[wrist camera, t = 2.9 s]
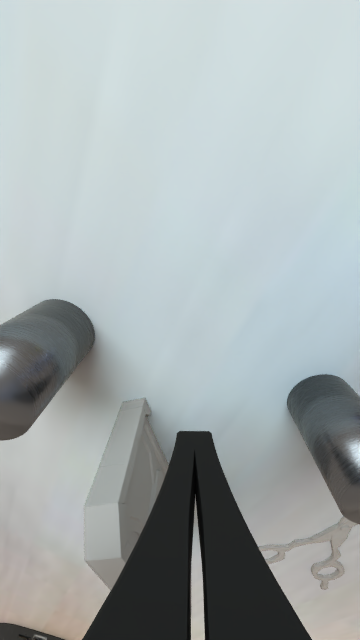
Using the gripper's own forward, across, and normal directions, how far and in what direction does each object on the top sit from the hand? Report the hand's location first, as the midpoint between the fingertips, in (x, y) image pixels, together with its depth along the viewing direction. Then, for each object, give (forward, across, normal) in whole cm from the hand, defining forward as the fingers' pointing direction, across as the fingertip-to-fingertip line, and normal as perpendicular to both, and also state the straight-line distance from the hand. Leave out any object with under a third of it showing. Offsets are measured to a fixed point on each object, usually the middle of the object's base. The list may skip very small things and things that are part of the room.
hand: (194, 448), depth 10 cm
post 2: (+6, -8, +2) cm, 10 cm away
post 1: (+6, +8, -3) cm, 10 cm away
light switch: (+6, +3, +8) cm, 10 cm away
